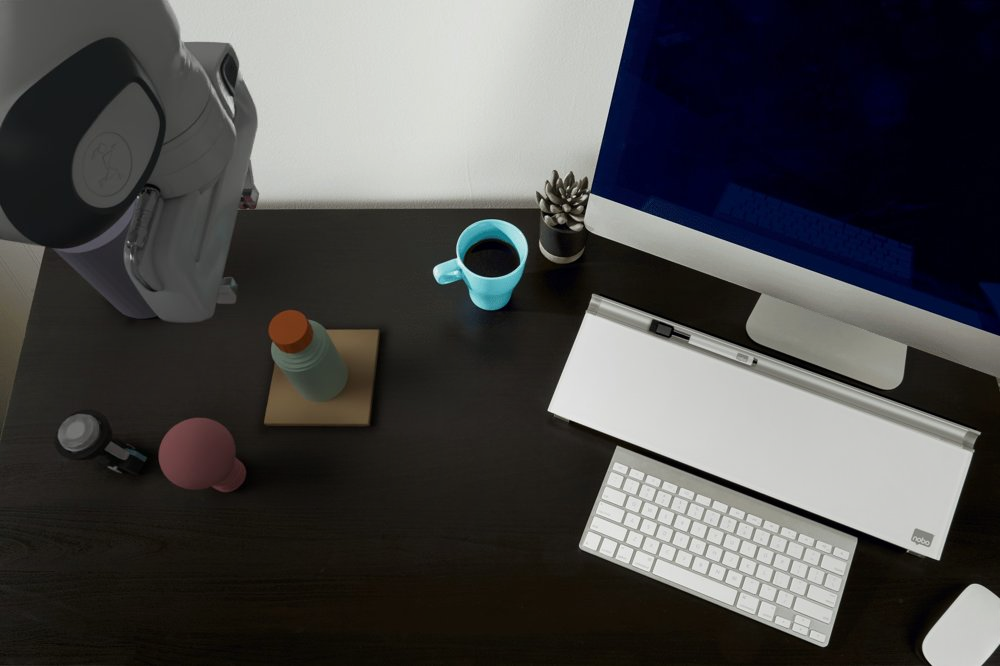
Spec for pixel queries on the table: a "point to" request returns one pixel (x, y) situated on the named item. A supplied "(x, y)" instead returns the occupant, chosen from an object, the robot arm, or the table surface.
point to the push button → (96, 442)
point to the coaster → (344, 407)
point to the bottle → (314, 367)
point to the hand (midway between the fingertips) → (239, 248)
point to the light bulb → (201, 456)
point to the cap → (291, 331)
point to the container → (110, 268)
